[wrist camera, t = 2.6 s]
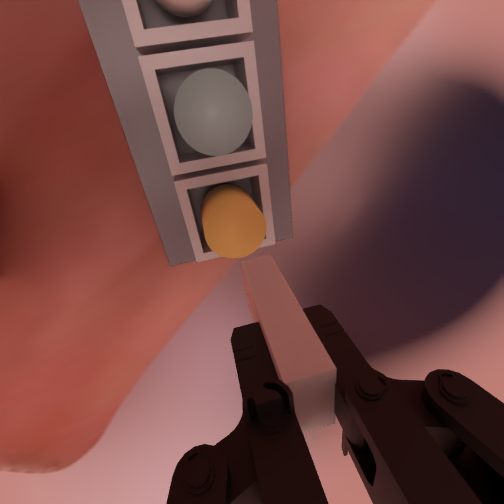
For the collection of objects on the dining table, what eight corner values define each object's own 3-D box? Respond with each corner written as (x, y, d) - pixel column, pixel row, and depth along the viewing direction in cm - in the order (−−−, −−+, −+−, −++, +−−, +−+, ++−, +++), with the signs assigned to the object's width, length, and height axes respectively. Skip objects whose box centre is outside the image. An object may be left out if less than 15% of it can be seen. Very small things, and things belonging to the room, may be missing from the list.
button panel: (31, -140, 13) (-17, -216, 10) (264, -151, 15) (287, -221, 12) (170, 264, 26) (169, 287, 22) (291, 235, 27) (306, 254, 24)
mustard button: (194, 190, 20) (197, 208, 17) (249, 179, 21) (262, 194, 17) (207, 239, 22) (211, 264, 19) (256, 228, 23) (269, 250, 20)
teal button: (167, 80, 17) (163, 74, 13) (233, 70, 17) (246, 62, 14) (184, 151, 19) (185, 162, 15) (243, 140, 19) (257, 148, 16)
